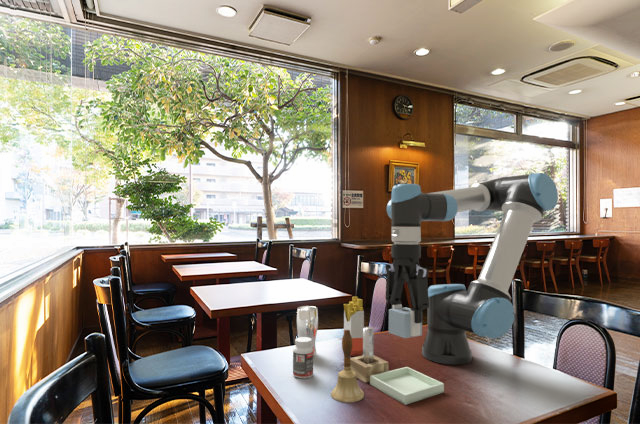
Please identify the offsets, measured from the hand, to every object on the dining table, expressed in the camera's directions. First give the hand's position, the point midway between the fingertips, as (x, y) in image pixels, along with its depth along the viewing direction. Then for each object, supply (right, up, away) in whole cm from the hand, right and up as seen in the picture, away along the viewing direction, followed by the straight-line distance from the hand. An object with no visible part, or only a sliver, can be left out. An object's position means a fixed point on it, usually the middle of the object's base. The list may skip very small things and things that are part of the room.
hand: (406, 332), depth 98 cm
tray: (0, -14, 0) cm, 14 cm away
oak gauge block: (-9, -15, +8) cm, 19 cm away
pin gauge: (-9, -15, +8) cm, 19 cm away
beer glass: (-27, -15, +24) cm, 39 cm away
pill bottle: (-27, -15, +8) cm, 32 cm away
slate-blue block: (0, 0, 0) cm, 0 cm away
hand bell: (-16, -14, -4) cm, 22 cm away
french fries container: (-11, -15, +26) cm, 33 cm away
